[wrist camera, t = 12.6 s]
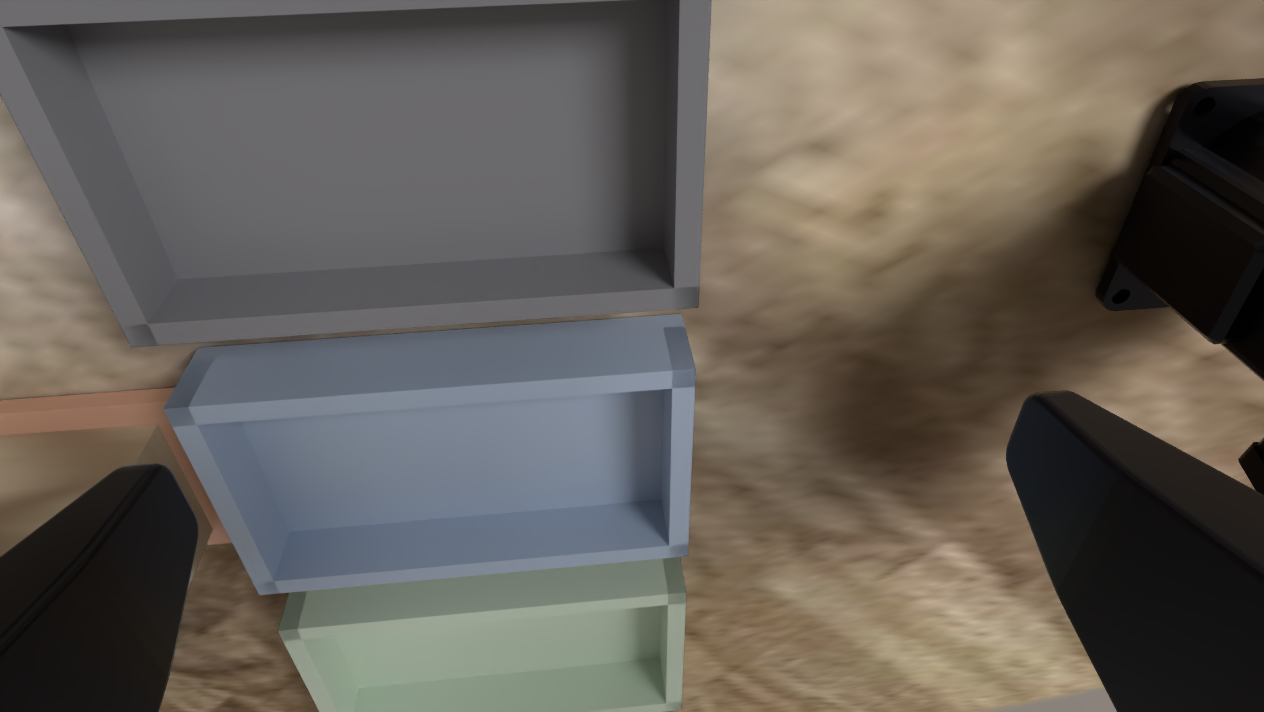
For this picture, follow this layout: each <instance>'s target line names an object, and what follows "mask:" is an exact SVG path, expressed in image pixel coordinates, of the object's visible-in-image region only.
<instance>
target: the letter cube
mask: <svg viewBox="0 0 1264 712" xmlns="http://www.w3.org/2000/svg"><path fill="white" fill-rule="evenodd" d="M154 463H158V464H163V465H165V466H166V467H168V468H169V469H170V470H171V471H172V473H173V475H174V476H175V478H176V480H177V482H178V484H179V485H180V487H181V489H182V491H183V493H184V495H185V496H186V498H187V500H188V502H189V504H190V506H191V507H192V509H193V511H194V513H195V515H196V518H197V522H198V528H199V534H198V542H197V547H196V552H195V557H194V562H193V567H192V572H191V576H190V581H189V586H190V583H191V581H192V579H193V576H194V574H195V571H196V569H197V567H198V564H199V562H200V559H201V557H202V555H203V552H204V550H205V547H206V545H207V543H208V540H209V538H210V535H211V533H212V531H213V528H212V526H211V524H210V522H209V521H208V519H207V517H206V515H205V513H204V511H203V509H202V507H201V505H200V503H199V502H198V500H197V498H196V496H195V494H194V492H193V490H192V488H191V486H190V484H189V482H188V481H187V479H186V477H185V475H184V473H183V471H182V469H181V467H180V465H179V463H178V462H177V460H176V458H175V456H174V454H173V452H172V450H171V448H170V446H169V444H168V443H167V441H166V439H165V437H164V435H163V433H162V431H161V429H160V427H159V425H158V424H151V425H138V426H124V427H110V428H97V429H83V430H70V431H56V432H42V433H29V434H15V435H1V436H0V556H2V555H3V554H4V553H5V552H7V551H8V550H9V549H11V548H12V547H13V546H15V545H16V544H17V543H19V542H20V541H21V540H23V539H24V538H25V537H27V536H28V535H29V534H31V533H32V532H33V531H34V530H36V529H37V528H38V527H40V526H41V525H42V524H44V523H45V522H46V521H48V520H49V519H50V518H52V517H53V516H54V515H56V514H57V513H58V512H59V511H61V510H62V509H63V508H65V507H66V506H67V505H69V504H70V503H71V502H73V501H74V500H75V499H77V498H78V497H79V496H81V495H82V494H83V493H85V492H86V491H87V490H88V489H90V488H91V487H92V486H94V485H95V484H96V483H98V482H99V481H100V480H102V479H103V478H104V477H106V476H107V475H108V474H110V473H111V472H112V471H114V470H115V469H117V468H120V467H124V466H130V465H142V464H154ZM189 586H188V588H189Z"/></svg>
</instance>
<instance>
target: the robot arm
mask: <svg viewBox="0 0 1264 712" xmlns="http://www.w3.org/2000/svg"><path fill="white" fill-rule="evenodd" d="M1202 99H1204V101H1203V103H1202V104H1201V106H1200V107H1199V108H1197V109H1196V110H1195V111H1194V108H1195V106H1196V105H1197V103H1198V102H1200V101H1201V100H1202ZM1119 290H1120V291H1119ZM1118 291H1119V292H1118ZM1116 292H1118V293H1117V294H1115V293H1116ZM1114 294H1115V295H1114ZM1096 298H1097V300H1098V301H1099V302H1100V303H1101V304H1102V305H1103V306H1104V307H1105V308H1106V309H1108V310H1111V311H1120V310H1134V309H1148V308H1162V307H1170V308H1171V309H1172V310H1173V311H1175V312H1176V313H1177V314H1178V315H1179V316H1180V317H1181V318H1183V319H1184V320H1185V321H1186V322H1187V323H1188V324H1189V325H1191V326H1192V327H1193V328H1194V329H1195V330H1196V331H1197V332H1199V333H1200V334H1201V335H1202V336H1203V337H1204V338H1206V339H1207V340H1208V341H1209V342H1211V343H1213V344H1221V345H1222V346H1224V347H1225V348H1226V349H1227V350H1228V351H1229V352H1231V353H1232V354H1233V355H1234V356H1235V357H1236V358H1238V359H1239V360H1240V361H1241V362H1242V363H1243V364H1245V365H1246V366H1247V367H1248V368H1249V369H1250V370H1251V371H1253V372H1254V373H1255V374H1256V375H1257V376H1258V377H1260V378H1261V379H1262V380H1263V381H1264V78H1260V79H1241V80H1222V81H1203V82H1198V83H1194V84H1192V85H1191V86H1189V87H1187V88H1186V89H1185V90H1184V91H1183V92H1182V93H1181V94H1180V95H1179V96H1178V98H1177V99H1176V101H1175V103H1174V105H1173V107H1172V110H1171V112H1170V114H1169V117H1168V119H1167V122H1166V124H1165V127H1164V129H1163V131H1162V134H1161V136H1160V139H1159V141H1158V143H1157V146H1156V148H1155V151H1154V153H1153V155H1152V158H1151V160H1150V163H1149V165H1148V167H1147V170H1146V172H1145V175H1144V177H1143V180H1142V182H1141V184H1140V187H1139V189H1138V192H1137V194H1136V196H1135V199H1134V201H1133V204H1132V206H1131V208H1130V211H1129V213H1128V216H1127V218H1126V220H1125V223H1124V225H1123V228H1122V230H1121V233H1120V235H1119V237H1118V240H1117V242H1116V245H1115V247H1114V249H1113V252H1112V254H1111V257H1110V259H1109V261H1108V264H1107V266H1106V269H1105V271H1104V273H1103V276H1102V278H1101V281H1100V283H1099V286H1098V288H1097V291H1096ZM1238 460H1239V463H1240V465H1241V466H1242V468H1243V470H1244V471H1245V473H1246V475H1247V476H1248V478H1249V480H1250V481H1251V483H1252V485H1253V487H1254V488H1255V490H1256V491H1255V490H1253V489H1252V488H1250V487H1248V486H1246V485H1244V484H1242V483H1240V482H1239V481H1237V480H1235V479H1233V478H1231V477H1229V476H1228V475H1226V474H1224V473H1222V472H1220V471H1218V470H1216V469H1215V468H1213V467H1211V466H1209V465H1207V464H1205V463H1204V462H1202V461H1200V460H1198V459H1196V458H1194V457H1192V456H1191V455H1189V454H1187V453H1185V452H1183V451H1181V450H1179V449H1178V448H1176V447H1174V446H1172V445H1170V444H1168V443H1167V442H1165V441H1163V440H1161V439H1159V438H1157V437H1155V436H1154V435H1152V434H1150V433H1148V432H1146V431H1144V430H1143V429H1141V428H1139V427H1137V426H1135V425H1133V424H1131V423H1130V422H1128V421H1126V420H1124V419H1122V418H1120V417H1119V416H1117V415H1115V414H1113V413H1111V412H1109V411H1107V410H1106V409H1104V408H1102V407H1100V406H1098V405H1096V404H1095V403H1093V402H1091V401H1089V400H1087V399H1085V398H1083V397H1082V396H1080V395H1078V394H1076V393H1074V392H1071V391H1064V390H1062V391H1049V392H1037V393H1034V394H1031V395H1030V396H1029V397H1028V398H1027V399H1026V400H1025V401H1024V403H1023V406H1022V408H1021V411H1020V414H1019V416H1018V419H1017V421H1016V424H1015V427H1014V429H1013V432H1012V434H1011V437H1010V440H1009V442H1008V445H1007V450H1006V462H1007V467H1008V470H1009V473H1010V475H1011V478H1012V481H1013V483H1014V486H1015V488H1016V491H1017V494H1018V496H1019V499H1020V501H1021V504H1022V507H1023V509H1024V512H1025V514H1026V517H1027V520H1028V522H1029V525H1030V527H1031V530H1032V533H1033V535H1034V538H1035V540H1036V543H1037V546H1038V548H1039V551H1040V553H1041V556H1042V559H1043V561H1044V564H1045V566H1046V569H1047V571H1048V574H1049V576H1050V579H1051V581H1052V583H1053V586H1054V588H1055V590H1056V593H1057V595H1058V597H1059V599H1060V601H1061V603H1062V605H1063V607H1064V609H1065V611H1066V613H1067V615H1068V617H1069V619H1070V621H1071V623H1072V625H1073V627H1074V629H1075V631H1076V633H1077V635H1078V637H1079V639H1080V641H1081V642H1082V644H1083V646H1084V648H1085V650H1086V652H1087V654H1088V656H1089V658H1090V660H1091V662H1092V664H1093V666H1094V668H1095V670H1096V672H1097V674H1098V676H1099V677H1100V679H1101V681H1102V683H1103V685H1104V687H1105V689H1106V691H1107V693H1108V695H1109V697H1110V699H1111V701H1112V703H1113V705H1114V707H1115V708H1116V711H1117V712H1264V438H1263V439H1262V440H1261V441H1260V442H1253V443H1252V445H1251V446H1250V447H1249V448H1248V449H1247V450H1246V451H1245V452H1244V453H1243V454H1242V455H1241V457H1240V458H1239V459H1238ZM198 534H199V528H198V522H197V518H196V515H195V513H194V511H193V509H192V507H191V506H190V504H189V502H188V500H187V498H186V496H185V495H184V493H183V491H182V489H181V487H180V485H179V484H178V482H177V480H176V478H175V476H174V475H173V473H172V471H171V470H170V469H169V468H168V467H166V466H165V465H163V464H158V463H154V464H142V465H130V466H124V467H120V468H117V469H115V470H114V471H112V472H111V473H110V474H108V475H107V476H106V477H104V478H103V479H102V480H100V481H99V482H98V483H96V484H95V485H94V486H92V487H91V488H90V489H88V490H87V491H86V492H85V493H83V494H82V495H81V496H79V497H78V498H77V499H75V500H74V501H73V502H71V503H70V504H69V505H67V506H66V507H65V508H63V509H62V510H61V511H59V512H58V513H57V514H56V515H54V516H53V517H52V518H50V519H49V520H48V521H46V522H45V523H44V524H42V525H41V526H40V527H38V528H37V529H36V530H34V531H33V532H32V533H31V534H29V535H28V536H27V537H25V538H24V539H23V540H21V541H20V542H19V543H17V544H16V545H15V546H13V547H12V548H11V549H9V550H8V551H7V552H5V553H4V554H3V555H2V556H0V712H159V708H160V705H161V702H162V699H163V696H164V692H165V689H166V686H167V682H168V679H169V675H170V671H171V667H172V662H173V658H174V654H175V649H176V644H177V639H178V634H179V630H180V625H181V620H182V615H183V610H184V605H185V601H186V596H187V591H188V586H189V581H190V576H191V572H192V567H193V562H194V557H195V552H196V547H197V542H198Z"/></svg>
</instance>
